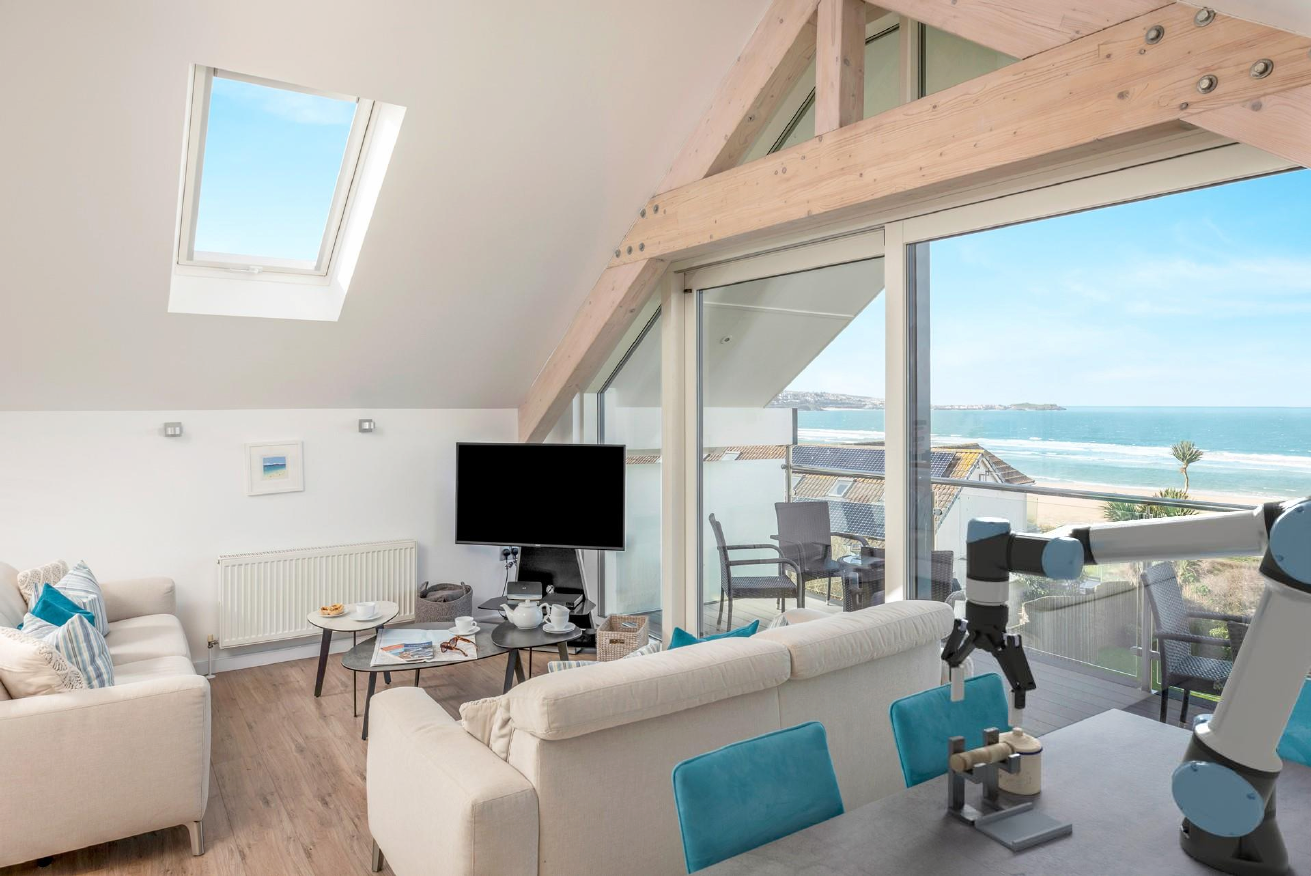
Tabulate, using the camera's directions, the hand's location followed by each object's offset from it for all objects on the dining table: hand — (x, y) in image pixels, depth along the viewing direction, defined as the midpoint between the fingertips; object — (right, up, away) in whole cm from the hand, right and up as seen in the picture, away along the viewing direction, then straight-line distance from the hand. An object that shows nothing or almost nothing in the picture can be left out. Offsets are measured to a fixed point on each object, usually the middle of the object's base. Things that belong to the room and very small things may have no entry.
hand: (985, 712), depth 153 cm
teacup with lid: (+10, -19, +11) cm, 24 cm away
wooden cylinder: (0, -10, 0) cm, 10 cm away
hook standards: (0, -19, +1) cm, 19 cm away
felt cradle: (+4, -19, -6) cm, 21 cm away
